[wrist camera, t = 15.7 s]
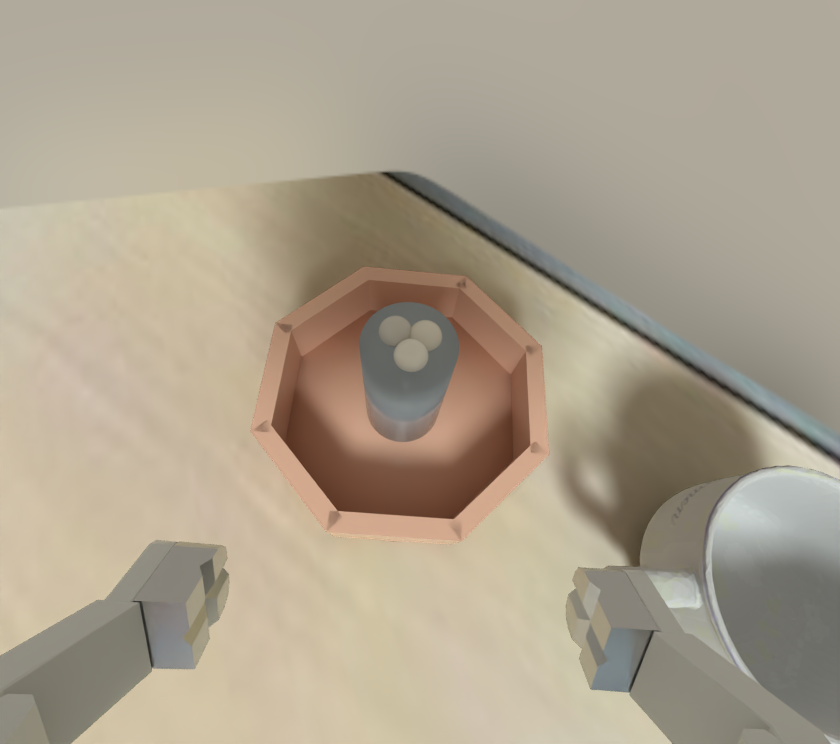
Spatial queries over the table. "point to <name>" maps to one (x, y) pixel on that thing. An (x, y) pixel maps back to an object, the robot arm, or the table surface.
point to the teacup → (758, 580)
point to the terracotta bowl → (389, 460)
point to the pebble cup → (406, 368)
